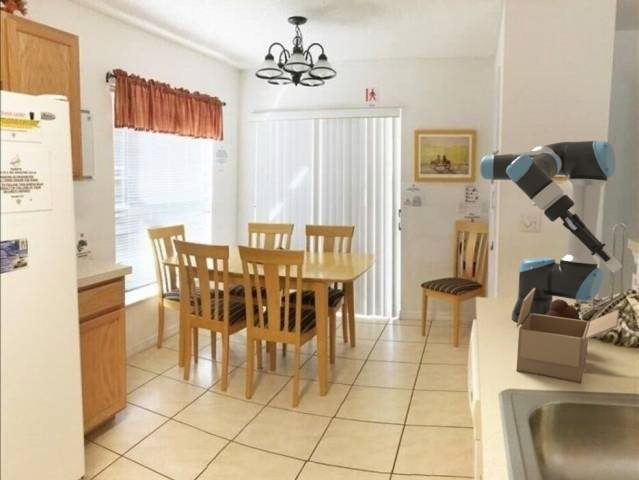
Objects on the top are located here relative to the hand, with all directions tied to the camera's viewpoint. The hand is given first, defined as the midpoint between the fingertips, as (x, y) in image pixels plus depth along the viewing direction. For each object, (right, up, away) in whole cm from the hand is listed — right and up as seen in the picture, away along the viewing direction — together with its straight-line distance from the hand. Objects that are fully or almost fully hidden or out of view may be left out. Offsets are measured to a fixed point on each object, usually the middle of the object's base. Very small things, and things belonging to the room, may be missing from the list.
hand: (617, 269), depth 141 cm
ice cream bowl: (-3, -26, +27) cm, 38 cm away
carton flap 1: (-19, -11, +12) cm, 25 cm away
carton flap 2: (-2, -14, +3) cm, 15 cm away
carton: (-12, -28, +11) cm, 32 cm away
